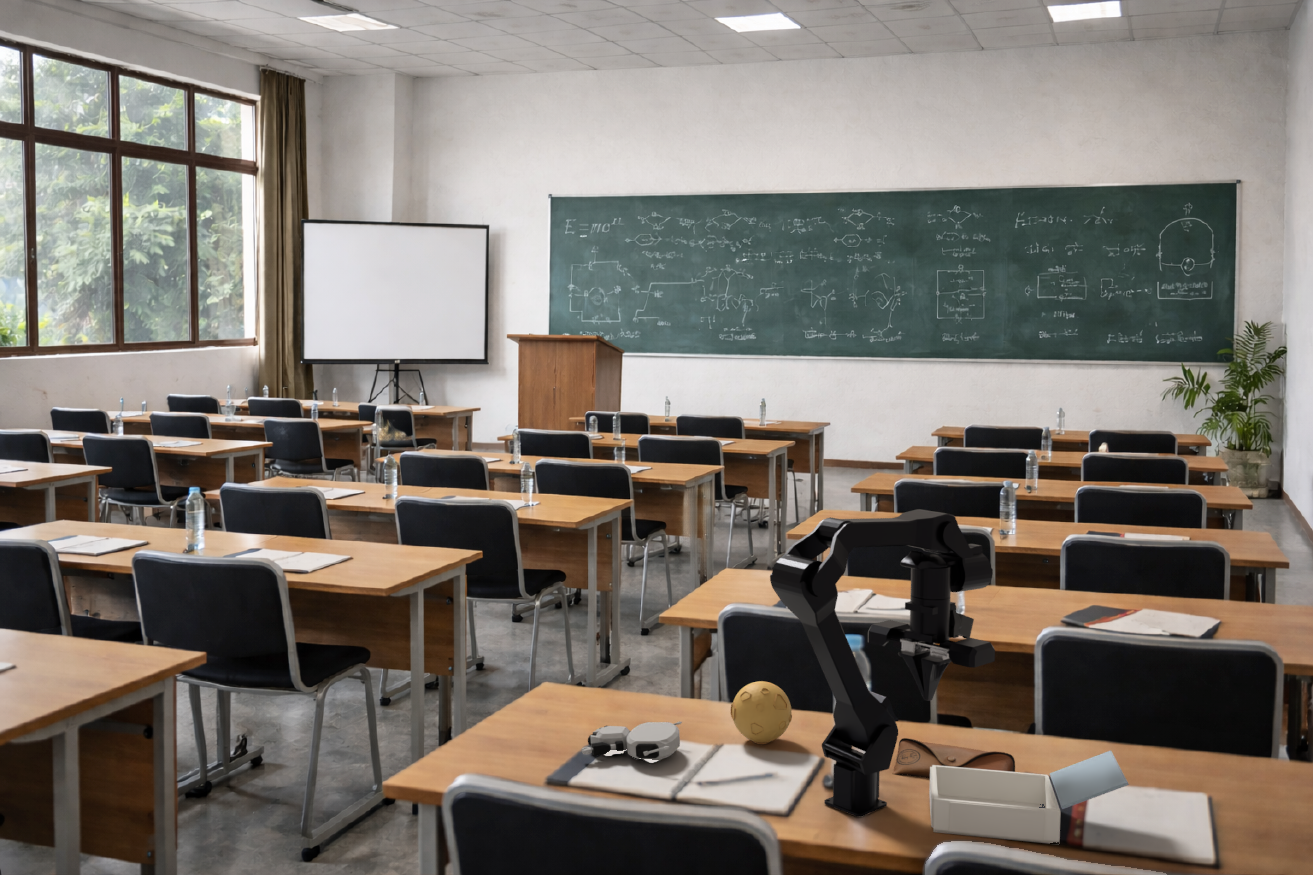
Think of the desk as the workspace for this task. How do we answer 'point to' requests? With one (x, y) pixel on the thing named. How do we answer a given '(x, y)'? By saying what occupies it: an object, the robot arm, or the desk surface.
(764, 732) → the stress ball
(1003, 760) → the sunglasses case
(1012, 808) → the carton
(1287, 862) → the desk surface
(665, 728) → the robot toy
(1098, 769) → the flap
